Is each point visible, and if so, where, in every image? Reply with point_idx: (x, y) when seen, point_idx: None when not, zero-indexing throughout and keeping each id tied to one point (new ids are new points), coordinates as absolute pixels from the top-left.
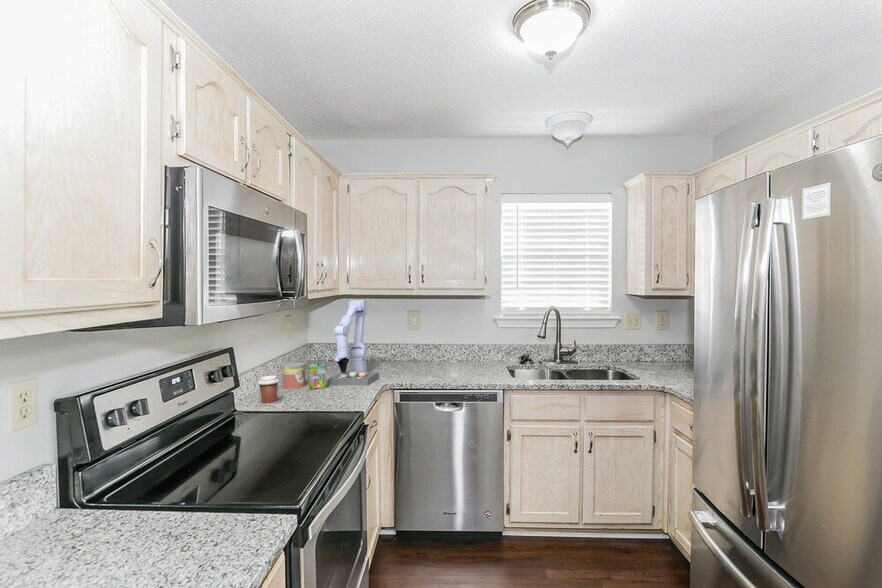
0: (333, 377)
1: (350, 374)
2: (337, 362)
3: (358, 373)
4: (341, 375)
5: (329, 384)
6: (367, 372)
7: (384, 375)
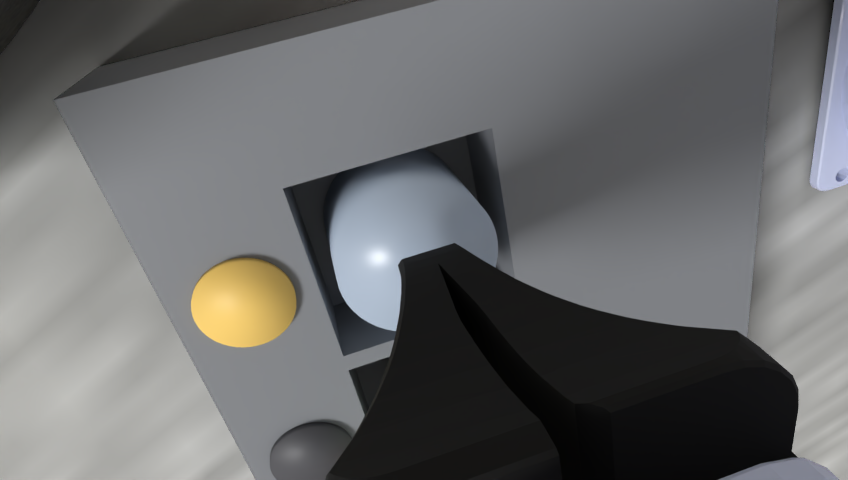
0: (173, 160)
1: None
2: (345, 453)
3: None
4: (336, 276)
5: (97, 69)
6: None
7: (828, 398)
